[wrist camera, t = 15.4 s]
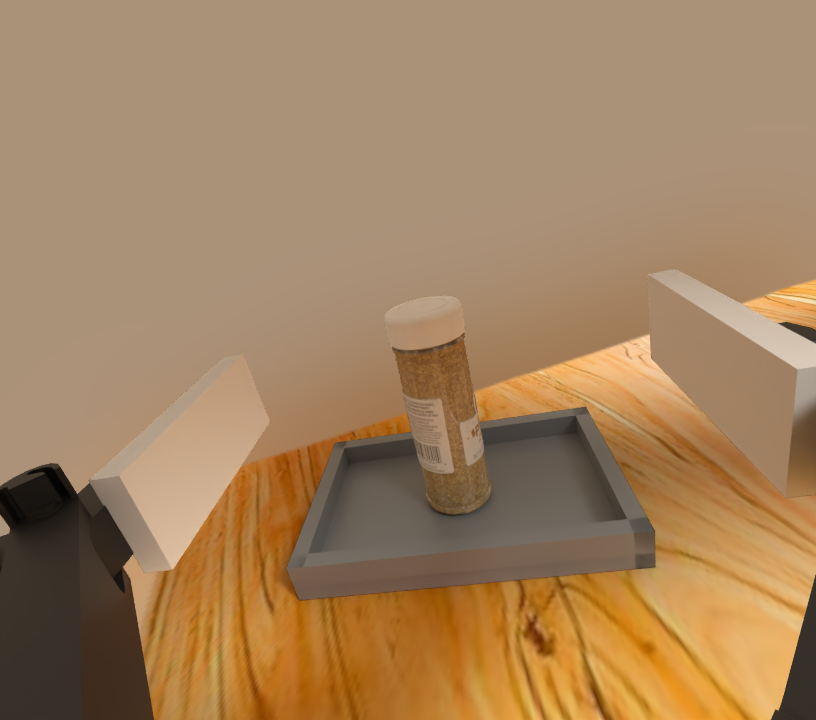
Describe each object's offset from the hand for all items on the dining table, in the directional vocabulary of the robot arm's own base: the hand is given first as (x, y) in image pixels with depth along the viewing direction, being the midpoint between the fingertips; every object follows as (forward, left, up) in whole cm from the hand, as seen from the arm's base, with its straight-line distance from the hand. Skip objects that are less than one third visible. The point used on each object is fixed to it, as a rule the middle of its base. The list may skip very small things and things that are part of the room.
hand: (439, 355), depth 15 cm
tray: (+2, -12, -16) cm, 20 cm away
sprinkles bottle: (+2, -12, -15) cm, 19 cm away
